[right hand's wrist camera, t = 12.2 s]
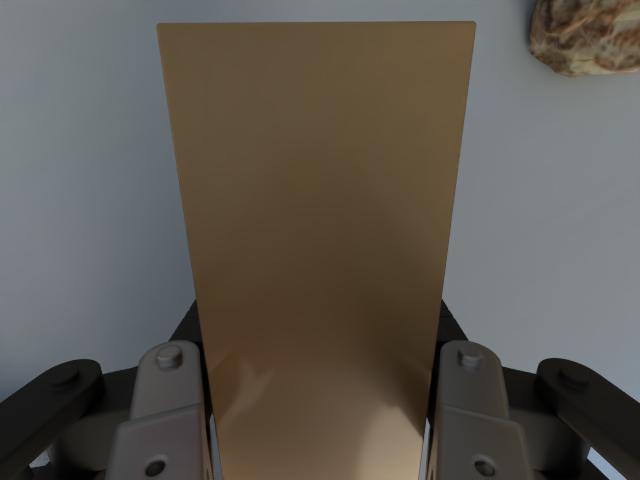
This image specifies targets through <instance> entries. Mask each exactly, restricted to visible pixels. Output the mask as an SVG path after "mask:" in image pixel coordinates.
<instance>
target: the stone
mask: <svg viewBox="0 0 640 480" xmlns="http://www.w3.org/2000/svg"><path fill="white" fill-rule="evenodd" d="M529 52H530V53H531V54H532V55H533V56H534V57H536V58H537V59H539V60H540V61H541V62H543V63H545V64H546V65H548V66H549V67H551V68H552V69H553V70H554V71H555V72H556V73H559V74H562V75H565V76H568V77H577V76H582V75H590V74H631V73H637V72H640V0H538V1H537V4H536V6H535V9H534V11H533V14H532V16H531V26H530V47H529Z"/></svg>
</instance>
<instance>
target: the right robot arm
mask: <svg viewBox="0 0 640 480" xmlns="http://www.w3.org/2000/svg"><path fill="white" fill-rule="evenodd" d="M212 413H213V409H212V402H211V395H210V388H209V381H208V375H207V368H206V361H205V354H204V347H203V341H202V334H201V327H200V320H199V313H198V307H197V300H195V301H194V303H193V304H192V306H191V307H190V310H189V311H188V312H187V313H186V315H185V318H183V320H182V321H181V323H180V324H179V326H178V327H177V329H176V330H175V332H174V333H173V335H172V337H171V338H170V340H169V341H168V342H165V343H162V344H160V345H157V346H155V347H153V348H152V349H150V350H149V351H147V352H146V353H145V354H144V355H143V356H142V358H141V359H140V361H139V365H138V366H136V367H133V368H129V369H125V370H120V371H116V372H111V373H106V374H102V371H101V367H100V364H99V363H98V362H96V361H94V360H90V359H78V360H72V361H68V362H65V363H62V364H59V365H57V366H55V367H52V368H50V369H49V370H47V371H45V372H44V373H42V374H41V375H39V376H38V377H36V378H35V379H34V380H32V381H31V382H29V383H28V384H27V385H25V386H24V387H22V388H21V389H20V390H18V391H17V392H15V393H14V394H12V395H11V396H10V397H8V398H7V399H5V400H4V401H3V402H1V403H0V480H215V474H214V461H213V449H212V436H211V428H210V421H209V420H210V417H211V415H212ZM427 419H428V422H429V424H430V428H429V436H428V448H427V461H426V473H425V480H609V479H608V478H607V477H606V476H605V475H604V474H603V473H602V472H601V471H600V470H599V469H598V468H597V467H596V466H595V465H594V464H593V463H592V462H590V461H589V460H588V459H587V456H588V453H589V451H590V448H591V447H592V448H593V449H594V450H596V451H597V452H598V453H599V454H600V455H601V456H602V457H603V458H604V459H605V460H606V461H607V462H609V463H610V464H611V465H612V466H613V467H614V468H615V469H616V470H617V471H618V472H619V473H620V474H622V475H623V476H624V477H625V478H626V479H627V480H640V403H639V402H637V401H636V400H635V399H633V398H632V397H630V396H629V395H628V394H626V393H625V392H623V391H622V390H620V389H619V388H618V387H616V386H615V385H613V384H612V383H611V382H609V381H608V380H606V379H605V378H604V377H602V376H601V375H599V374H598V373H596V372H595V371H593V370H592V369H590V368H588V367H586V366H584V365H582V364H579V363H577V362H574V361H570V360H566V359H560V358H549V359H545V360H543V361H541V362H540V363H539V365H538V368H537V372H536V374H534V373H529V372H524V371H520V370H515V369H510V368H506V367H503V366H502V365H501V362H500V359H499V358H498V356H497V355H496V354H495V353H494V352H492V351H491V350H490V349H488V348H486V347H485V346H483V345H480V344H478V343H475V342H471V341H469V340H468V339H467V337H466V335H465V334H464V332H463V331H462V329H461V328H460V326H459V325H458V323H457V321H456V320H455V318H453V315H452V314H451V312H450V310H448V307H447V306H446V304H445V303H444V301H443V300H442V299H441V307H440V315H439V323H438V331H437V339H436V346H435V354H434V362H433V370H432V378H431V386H430V394H429V402H428V410H427ZM44 450H46V451H47V453H48V456H49V459H50V462H48V463H47V464H46V465H45V466H39V467H33V468H30V466H29V464H30V463H31V462H33V461H34V460H35V459H36V458H37V457H38V456H39V455H40V454H41V453H42V452H43V451H44Z"/></svg>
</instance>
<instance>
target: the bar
mask: <svg viewBox="0 0 640 480" xmlns="http://www.w3.org/2000/svg"><path fill="white" fill-rule="evenodd" d="M475 30H476V22H474V21H406V22H258V23H159V24H157V35H158V41H159V48H160V55H161V62H162V69H163V75H164V82H165V89H166V96H167V103H168V109H169V116H170V123H171V130H172V137H173V143H174V150H175V157H176V164H177V171H178V177H179V184H180V191H181V198H182V205H183V211H184V218H185V225H186V232H187V239H188V245H189V252H190V259H191V266H192V273H193V279H194V286H195V293H196V300H197V307H198V313H199V320H200V327H201V334H202V341H203V347H204V354H205V361H206V368H207V375H208V381H209V388H210V395H211V402H212V409H213V415H214V422H215V429H216V436H217V443H218V450H219V456H220V463H221V470H222V477H223V480H419V473H420V465H421V457H422V449H423V441H424V433H425V425H426V418H427V410H428V402H429V394H430V386H431V378H432V370H433V362H434V354H435V346H436V339H437V331H438V323H439V315H440V307H441V299H442V291H443V283H444V275H445V267H446V260H447V252H448V244H449V236H450V228H451V220H452V212H453V204H454V196H455V188H456V180H457V173H458V165H459V157H460V149H461V141H462V133H463V125H464V117H465V109H466V101H467V94H468V86H469V78H470V70H471V62H472V54H473V46H474V38H475Z"/></svg>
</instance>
